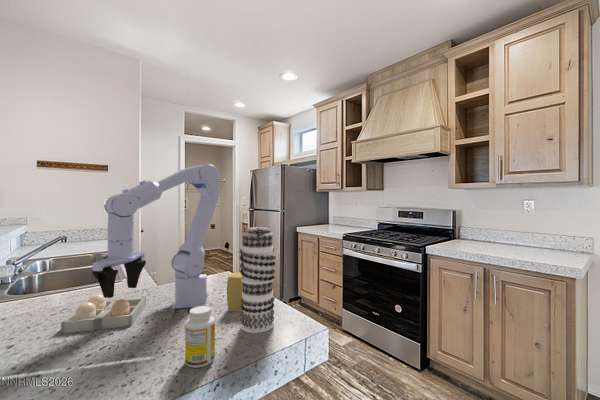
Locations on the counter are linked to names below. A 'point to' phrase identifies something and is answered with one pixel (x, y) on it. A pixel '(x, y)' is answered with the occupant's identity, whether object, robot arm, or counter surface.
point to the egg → (120, 308)
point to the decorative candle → (257, 280)
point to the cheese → (234, 292)
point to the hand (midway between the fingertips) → (120, 292)
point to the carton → (105, 318)
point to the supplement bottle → (199, 337)
